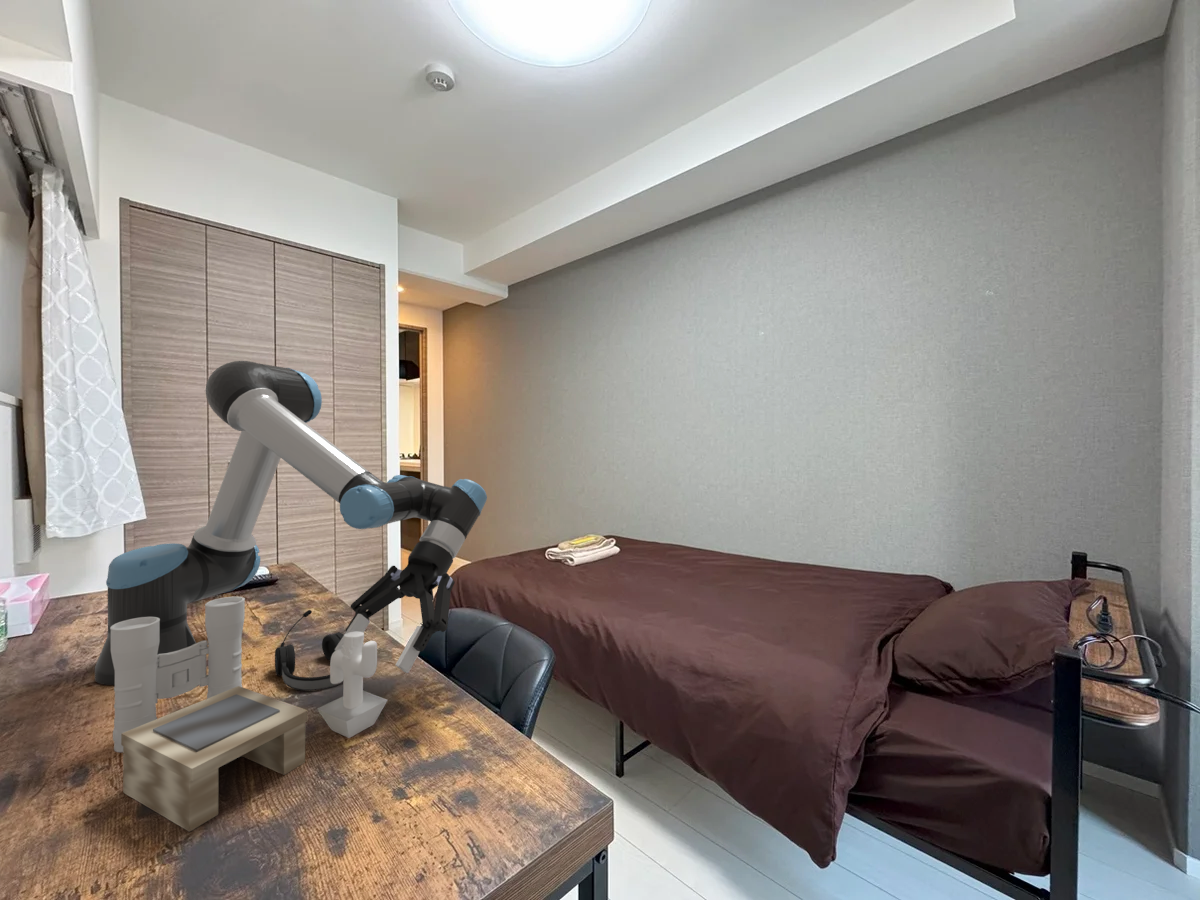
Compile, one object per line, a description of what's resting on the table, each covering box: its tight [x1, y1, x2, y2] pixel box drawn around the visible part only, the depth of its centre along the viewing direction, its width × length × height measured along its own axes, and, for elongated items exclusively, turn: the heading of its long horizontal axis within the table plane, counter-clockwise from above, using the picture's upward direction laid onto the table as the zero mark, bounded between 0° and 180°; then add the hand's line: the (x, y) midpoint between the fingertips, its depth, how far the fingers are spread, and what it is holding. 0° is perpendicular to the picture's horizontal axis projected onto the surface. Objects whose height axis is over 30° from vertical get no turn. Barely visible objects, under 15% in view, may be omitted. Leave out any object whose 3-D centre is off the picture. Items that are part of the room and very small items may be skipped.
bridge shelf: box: [121, 686, 309, 833], centre depth 67 cm, size 16×14×8 cm
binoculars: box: [110, 596, 246, 753], centre depth 80 cm, size 17×5×18 cm, turn 152°
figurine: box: [316, 631, 388, 739], centre depth 79 cm, size 7×9×15 cm
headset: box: [274, 609, 345, 692], centre depth 99 cm, size 13×9×19 cm
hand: (370, 661), depth 81 cm, fingers open, 13 cm apart
